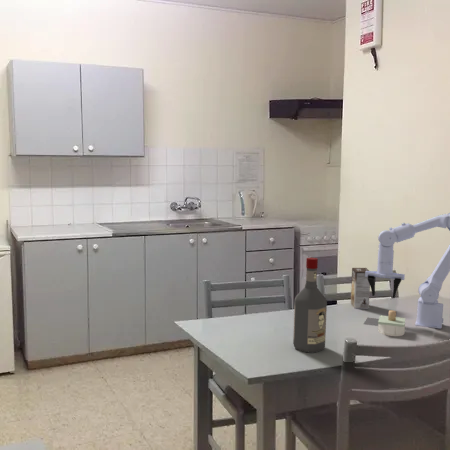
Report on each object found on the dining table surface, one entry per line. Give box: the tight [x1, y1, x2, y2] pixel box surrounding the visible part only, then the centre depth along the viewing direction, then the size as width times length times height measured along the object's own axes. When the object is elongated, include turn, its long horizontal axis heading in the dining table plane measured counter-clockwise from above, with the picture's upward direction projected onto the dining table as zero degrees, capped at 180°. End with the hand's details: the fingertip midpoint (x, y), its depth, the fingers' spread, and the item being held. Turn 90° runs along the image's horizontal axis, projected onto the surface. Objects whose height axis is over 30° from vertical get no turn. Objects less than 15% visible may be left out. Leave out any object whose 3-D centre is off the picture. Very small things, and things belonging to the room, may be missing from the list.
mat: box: [363, 317, 379, 327], centre depth 219 cm, size 10×10×1 cm
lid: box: [378, 310, 406, 327], centre depth 206 cm, size 9×9×4 cm
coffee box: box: [350, 267, 371, 310], centre depth 242 cm, size 9×6×16 cm
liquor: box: [292, 257, 328, 353], centre depth 187 cm, size 9×9×30 cm
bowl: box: [377, 324, 406, 337], centre depth 206 cm, size 9×9×4 cm
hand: (383, 296), depth 220 cm, fingers open, 7 cm apart
